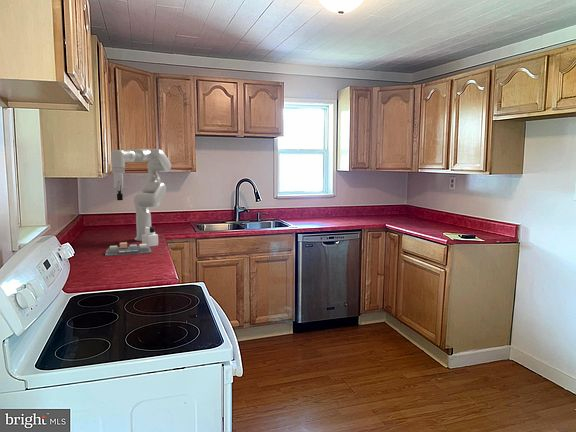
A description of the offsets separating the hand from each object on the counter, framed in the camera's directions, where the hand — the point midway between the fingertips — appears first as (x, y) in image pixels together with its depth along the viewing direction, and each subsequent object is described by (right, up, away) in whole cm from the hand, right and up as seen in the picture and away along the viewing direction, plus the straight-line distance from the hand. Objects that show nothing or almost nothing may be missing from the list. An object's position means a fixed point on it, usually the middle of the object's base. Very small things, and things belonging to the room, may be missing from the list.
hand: (120, 200), depth 259 cm
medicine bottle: (+17, -29, +7) cm, 34 cm away
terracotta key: (+8, -28, -14) cm, 32 cm away
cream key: (+18, -29, -10) cm, 36 cm away
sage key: (+3, -30, -15) cm, 34 cm away
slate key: (+13, -30, -11) cm, 34 cm away
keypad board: (+10, -31, -12) cm, 35 cm away
